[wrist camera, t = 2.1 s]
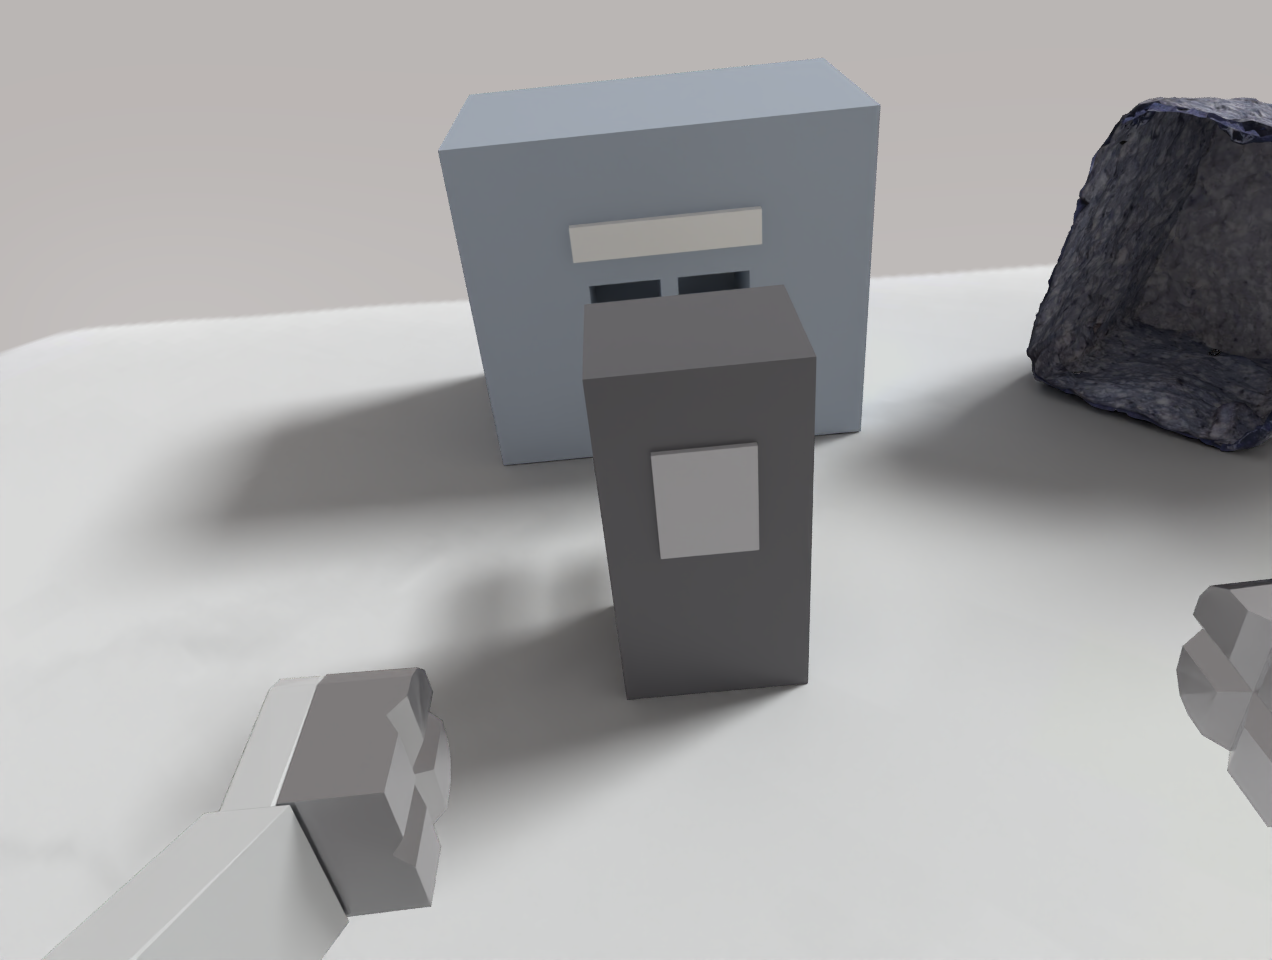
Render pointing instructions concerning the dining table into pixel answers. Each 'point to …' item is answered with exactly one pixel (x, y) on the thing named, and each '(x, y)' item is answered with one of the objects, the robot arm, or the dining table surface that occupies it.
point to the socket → (659, 223)
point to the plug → (705, 485)
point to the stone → (1170, 274)
